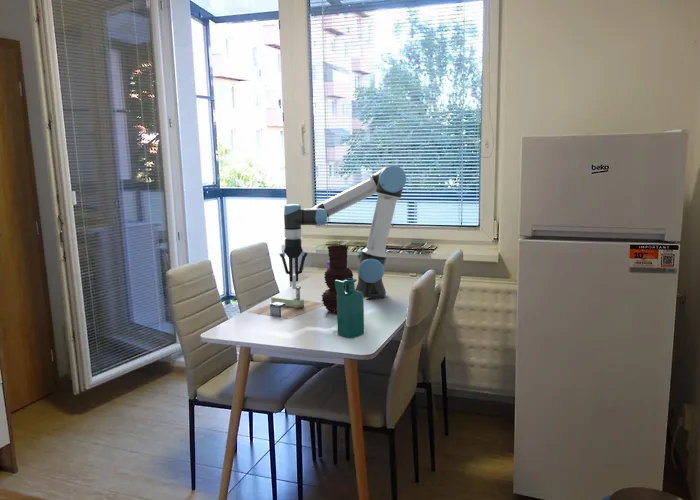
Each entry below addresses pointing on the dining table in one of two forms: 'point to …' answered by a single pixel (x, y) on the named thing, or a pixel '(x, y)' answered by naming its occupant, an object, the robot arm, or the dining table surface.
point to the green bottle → (349, 309)
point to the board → (289, 309)
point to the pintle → (297, 292)
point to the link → (288, 301)
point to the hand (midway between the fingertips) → (294, 288)
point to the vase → (335, 275)
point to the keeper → (276, 309)
